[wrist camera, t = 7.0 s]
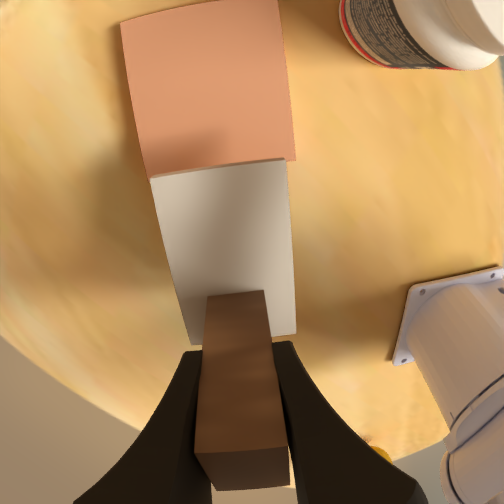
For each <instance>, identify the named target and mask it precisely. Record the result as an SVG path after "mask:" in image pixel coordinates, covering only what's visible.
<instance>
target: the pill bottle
mask: <svg viewBox="0 0 504 504" xmlns="http://www.w3.org/2000/svg"><path fill="white" fill-rule="evenodd" d="M339 19H340V24H341V27H342V30H343V32H344V34H345V36H346V38H347V40H348V41H349V43H350V44H351V45H352V47H353V48H354V49H355V50H356V51H357V52H358V53H359V54H360V55H362V56H363V57H364V58H365V59H367V60H369V61H370V62H372V63H374V64H376V65H379V66H381V67H385V68H389V69H444V70H464V71H465V70H477V69H481V68H484V67H486V66H488V65H490V64H491V63H492V62H493V61H494V60H495V59H496V58H497V57H498V56H504V0H341V1H340V4H339Z"/></svg>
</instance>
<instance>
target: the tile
mask: <svg viewBox="0 0 504 504" xmlns="http://www.w3.org/2000/svg"><path fill="white" fill-rule="evenodd" d="M120 28H121V36H122V43H123V51H124V58H125V65H126V71H127V77H128V84H129V89H130V95H131V101H132V107H133V112H134V117H135V123H136V128H137V133H138V138H139V143H140V147H141V152H142V157H143V161H144V166H145V170H146V175H147V179H148V182H150V178H151V177H152V176H153V175H157V174H163V173H169V172H175V171H181V170H187V169H193V168H200V167H207V166H214V165H221V164H229V163H236V162H245V161H253V160H262V159H272V158H282V157H284V159H285V160H286V162H287V161H296V155H295V143H294V132H293V122H292V111H291V102H290V92H289V83H288V75H287V66H286V58H285V50H284V42H283V35H282V27H281V20H280V13H279V6H278V0H219V1H212V2H205V3H199V4H194V5H188V6H183V7H178V8H174V9H169V10H165V11H160V12H156V13H152V14H148V15H144V16H141V17H137V18H134V19H130V20H127V21H123V22H120Z"/></svg>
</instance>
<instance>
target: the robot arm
mask: <svg viewBox="0 0 504 504" xmlns="http://www.w3.org/2000/svg"><path fill="white" fill-rule="evenodd" d="M503 275H504V268H503V267H502V266H498V267H494V268H490V269H485V270H481V271H477V272H472V273H468V274H463V275H459V276H454V277H449V278H445V279H440V280H435V281H430V282H425V283H420V284H415V285H413V286H412V287H411V288H410V289H409V291H408V296H407V301H406V305H405V310H404V314H403V319H402V323H401V327H400V331H399V335H398V339H397V343H396V347H395V351H394V354H393V358H392V363H393V365H394V366H398V365H402V364H406V363H409V362H413V361H415V362H416V364H417V366H418V368H419V370H420V371H421V373H422V375H423V377H424V379H425V381H426V383H427V385H428V387H429V389H430V391H431V393H432V395H433V397H434V399H435V401H436V403H437V405H438V407H439V409H440V411H441V413H442V415H443V417H444V419H445V421H446V423H447V426H448V428H449V430H450V433H449V434H448V435H447V436H446V437H445V438H444V439H443V441H444V443H445V445H446V448H447V451H446V453H445V454H444V456H443V458H442V461H441V465H440V479H441V486H442V490H443V493H444V495H445V497H446V499H447V501H448V502H449V504H504V280H502V278H503ZM422 289H423V290H422ZM421 290H422V291H421ZM271 344H272V351H273V357H274V364H275V368H276V372H277V377H278V383H279V389H280V396H281V402H282V409H283V415H284V422H285V428H286V435H287V442H288V446H289V450H290V454H291V459H292V464H293V470H294V478H295V485H296V492H297V500H298V504H428V500H427V498H426V495H425V494H424V492H423V490H422V488H421V486H420V485H419V483H418V482H417V481H416V480H415V479H414V478H412V477H410V476H409V475H407V474H406V473H404V472H403V471H401V470H400V469H398V468H397V467H396V466H394V465H393V464H391V463H390V462H389V461H387V460H386V459H385V458H383V457H382V456H381V455H380V454H378V453H377V452H376V451H375V450H374V449H373V448H371V447H370V446H369V445H368V444H367V443H366V442H365V441H363V440H362V439H361V438H360V437H359V436H358V435H357V434H356V433H355V432H354V431H353V430H352V429H351V428H350V427H349V426H348V425H347V424H346V423H345V422H344V420H343V419H342V418H341V417H340V416H339V415H338V414H337V413H336V411H335V410H334V409H333V408H332V407H331V405H330V404H329V403H328V401H327V400H326V399H325V398H324V396H323V395H322V394H321V392H320V391H319V389H318V388H317V386H316V385H315V383H314V382H313V380H312V379H311V378H310V376H309V374H308V373H307V371H306V370H305V368H304V366H303V364H302V363H301V361H300V359H299V357H298V355H297V353H296V351H295V348H294V346H293V343H292V342H291V341H282V342H275V343H271ZM202 355H203V351H202V350H199V351H186V352H185V353H184V354H183V356H182V358H181V361H180V363H179V365H178V367H177V370H176V372H175V374H174V376H173V378H172V380H171V382H170V384H169V386H168V388H167V390H166V392H165V394H164V396H163V398H162V399H161V401H160V403H159V405H158V406H157V408H156V410H155V411H154V413H153V415H152V416H151V418H150V420H149V421H148V423H147V424H146V426H145V427H144V429H143V430H142V432H141V433H140V435H139V436H138V437H137V439H136V440H135V441H134V443H133V444H132V445H131V446H130V448H129V449H128V450H127V451H126V453H125V454H124V455H123V456H122V457H121V458H120V460H119V461H118V462H117V463H116V464H115V465H114V466H113V467H112V468H111V469H110V470H109V471H108V472H107V473H106V474H105V475H104V476H103V477H102V478H101V479H100V480H99V481H98V482H97V483H96V484H95V485H93V486H92V487H91V488H90V489H89V490H87V491H86V492H85V493H84V494H82V495H81V496H80V497H79V498H77V499H76V500H75V501H74V502H73V504H212V495H211V481H210V479H209V478H208V476H207V474H206V473H205V471H204V469H203V468H202V466H201V464H200V463H199V461H198V459H197V457H196V456H195V454H194V447H195V431H196V417H197V404H198V391H199V380H200V375H201V366H202Z"/></svg>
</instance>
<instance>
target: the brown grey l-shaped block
mask: <svg viewBox="0 0 504 504" xmlns="http://www.w3.org/2000/svg"><path fill="white" fill-rule="evenodd" d="M150 183H151V188H152V193H153V198H154V203H155V207H156V212H157V217H158V221H159V226H160V230H161V234H162V238H163V243H164V247H165V251H166V255H167V259H168V263H169V267H170V271H171V275H172V279H173V282H174V286H175V290H176V294H177V297H178V301H179V305H180V308H181V312H182V315H183V319H184V322H185V326H186V329H187V332H188V336H189V339H190V342H191V345H201V344H203V345H202V351H203V355H202V366H201V375H200V380H199V391H198V404H197V417H196V431H195V447H194V454H195V456H196V457H197V459H198V461H199V463H200V464H201V466H202V468H203V469H204V471H205V473H206V474H207V476H208V478H209V479H210V481H211V483H212V484H213V486H214V487H215V489H216V491H230V490H247V489H259V488H270V487H277V486H286V485H290V472H289V452H288V442H287V435H286V428H285V422H284V415H283V409H282V402H281V396H280V389H279V383H278V377H277V372H276V368H275V364H274V357H273V351H272V344H271V343H272V338H271V337H275V336H283V335H290V334H296V311H295V289H294V269H293V252H292V235H291V220H290V206H289V192H288V180H287V167H286V160H285V159H284V157H282V158H272V159H262V160H253V161H245V162H236V163H229V164H221V165H214V166H207V167H200V168H193V169H187V170H181V171H175V172H169V173H163V174H157V175H153V176H152V177H151V178H150Z"/></svg>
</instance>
